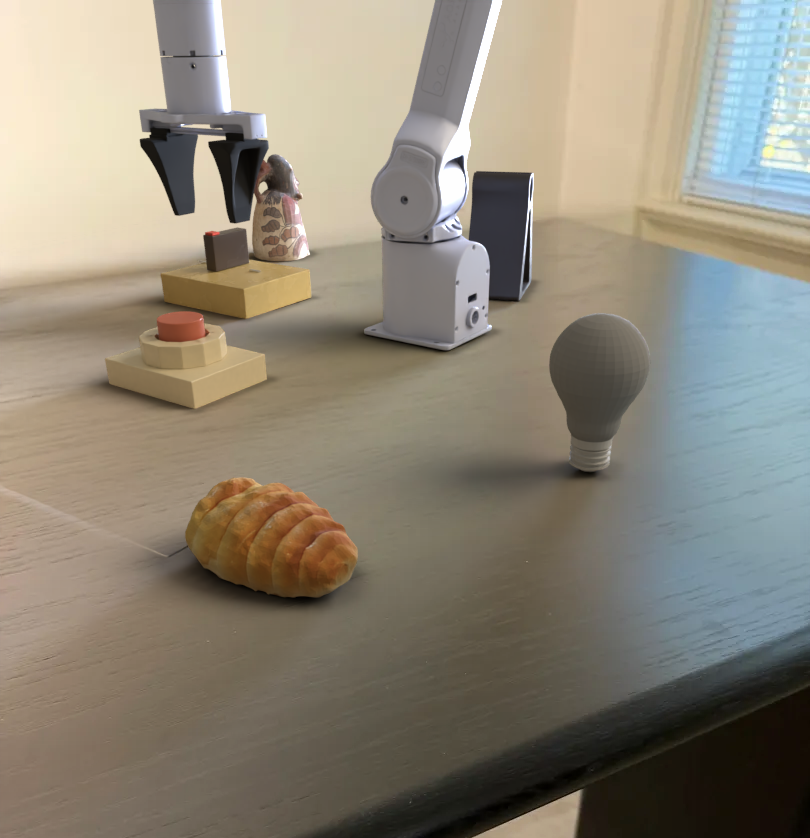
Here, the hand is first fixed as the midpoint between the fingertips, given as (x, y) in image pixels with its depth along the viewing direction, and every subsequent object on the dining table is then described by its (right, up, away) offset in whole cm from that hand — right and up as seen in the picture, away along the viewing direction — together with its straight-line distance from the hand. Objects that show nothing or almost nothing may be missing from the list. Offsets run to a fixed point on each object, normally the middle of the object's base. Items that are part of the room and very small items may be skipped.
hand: (211, 217), depth 85 cm
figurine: (+3, +5, +29) cm, 29 cm away
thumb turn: (0, -2, +10) cm, 10 cm away
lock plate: (+1, -5, +10) cm, 11 cm away
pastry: (+12, -32, -37) cm, 51 cm away
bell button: (+1, -15, -15) cm, 21 cm away
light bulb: (+30, -27, -28) cm, 49 cm away
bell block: (+1, -18, -13) cm, 22 cm away
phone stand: (+29, -4, +13) cm, 32 cm away
